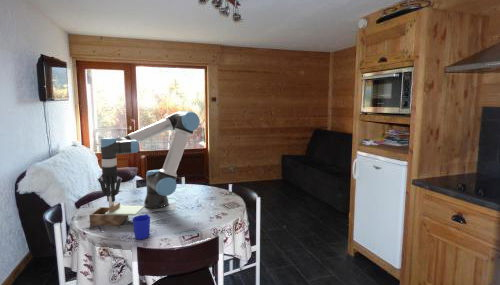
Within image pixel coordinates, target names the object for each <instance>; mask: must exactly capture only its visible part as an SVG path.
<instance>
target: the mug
mask: <svg viewBox="0 0 500 285" xmlns="http://www.w3.org/2000/svg"><path fill="white" fill-rule="evenodd" d="M132 225H133V234H134V238H135V239H136V240H145V239H147V238H149V236H150V230H151V229H150V228H151V216H150V215H149V214H148V213H145V214H139V215H135V216H133V217H132Z"/></svg>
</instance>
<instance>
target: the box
mask: <svg viewBox="0 0 500 285" xmlns="http://www.w3.org/2000/svg"><path fill="white" fill-rule="evenodd" d="M107 211H109V206H106V207H105V206H101V207H99V208H97V209H96V210H94V211H93V212H91V213H90V214H89V225H90V226H97V225H100V226H101V227H102V226H105V227H106V226H107V227H110V226H111V227H113V226H114V227H119V226H121V225H122V224H123V223H124V222H126V220H128V218H129V217H130V216H129V215H105V213H106V212H107ZM100 226H99V227H100Z"/></svg>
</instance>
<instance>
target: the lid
mask: <svg viewBox="0 0 500 285" xmlns="http://www.w3.org/2000/svg"><path fill="white" fill-rule="evenodd" d="M120 203H121V202H116V201H115V203H114V205H112V206H111V207H109V206H108V207H109V211H107V212H106V213H105V215H128V216H138V214H139V213H140V212H141V211H142V210H143V209H144V208H145V206H144V205H126V204H125V205H122V204H120Z"/></svg>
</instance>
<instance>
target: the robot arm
mask: <svg viewBox="0 0 500 285" xmlns="http://www.w3.org/2000/svg"><path fill="white" fill-rule="evenodd" d="M200 120H201V119H200V117H199V115H198V114H197V113H195V112H193V111H191V110H179V111H176V112H174V113H171V114H169V115H167V116H165V117H164V118H163V119H161V120H159V121H156V122H153V123H152V124H150V125H148V126H145V127H143V128H141V129H138V130H136V131H134V132H131V133H129V134H126V135H124V136H117V137H108V136H107V137H103V138H101V139H100V156H101V158H100V159H101V166H102V167H101V173H102V175H101V177H99V178H97V181H98V183H99V184H100V188H101V191H102V192H101V193H102V195H103V196H105V197H106V201H107V202H108V207H111V206H112V205H114V204H115V203H114V202H116V196H117V195H119V192H120V187H121V183H122V181H123V177H120V176H119V174H118V166H117V165H118V163H117V162H118V161H117V160H118V159H117V155H125V154H136V153H138V152H139V150H140V143H143V142H146V141H148V140H150V139H152V138H154V137H157V136H159V135H161V134H163V133H166V132H168V131H174V130H175V134H174V136H173V138H172V141H171V144H170V147H169V149H168V153H167V155H166V157H165V160H164V163H163V166H162V168H160V169H152V170H147V171H146V175H145V177H146V180H145V181H146V195H145V199H144V205H143V206H144V208H147V207H150V208H149V209H156V208H155V207H161V206H164V205H167V204H168V205H169V198H168V196H171V195H172V194H173V193H174V192H176V189H177V185H178V184H177V182H176V181H177V178H178V175H177V170H178V168H179V165H180V162H181V160H182V157H183V154H184V151H185V148H186V146H187V143H188V141H189V138H190V137H191V136H193V135H194V132H195V130H197V129H198V128H199V127H200V123H201V122H200ZM115 184H116V185H115ZM168 205H167V206H168ZM164 207H165V206H164ZM161 208H162V207H161Z"/></svg>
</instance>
